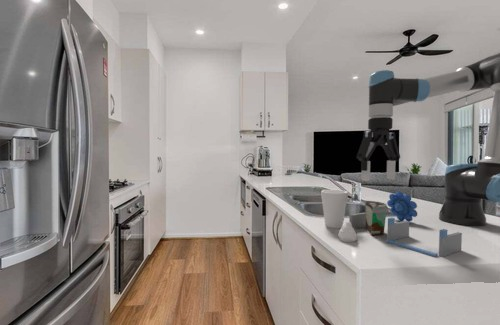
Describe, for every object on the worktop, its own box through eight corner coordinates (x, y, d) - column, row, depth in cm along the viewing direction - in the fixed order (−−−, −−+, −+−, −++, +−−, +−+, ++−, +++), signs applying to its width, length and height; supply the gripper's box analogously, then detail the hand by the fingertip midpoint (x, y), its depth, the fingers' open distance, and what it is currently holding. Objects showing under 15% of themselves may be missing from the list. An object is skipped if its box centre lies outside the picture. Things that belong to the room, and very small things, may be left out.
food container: (392, 238, 90) (393, 207, 89) (372, 237, 91) (373, 206, 90) (382, 228, 102) (383, 201, 101) (364, 227, 103) (365, 200, 102)
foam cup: (321, 228, 101) (321, 192, 101) (320, 221, 110) (321, 189, 110) (348, 229, 99) (349, 193, 98) (345, 223, 108) (346, 190, 107)
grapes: (382, 219, 114) (382, 190, 114) (389, 217, 119) (390, 189, 118) (412, 225, 105) (413, 194, 105) (419, 222, 109) (420, 192, 109)
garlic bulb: (360, 222, 86) (344, 223, 84) (360, 242, 86) (344, 243, 85) (350, 218, 91) (335, 219, 90) (349, 236, 91) (334, 237, 90)
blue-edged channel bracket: (367, 225, 106) (367, 206, 105) (461, 250, 79) (462, 226, 78) (345, 229, 100) (345, 209, 99) (438, 258, 73) (439, 231, 72)
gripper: (392, 121, 104) (390, 177, 105) (346, 116, 92) (344, 180, 93) (412, 119, 98) (410, 179, 98) (365, 113, 85) (363, 182, 86)
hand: (378, 179), depth 96 cm, fingers open, 13 cm apart
